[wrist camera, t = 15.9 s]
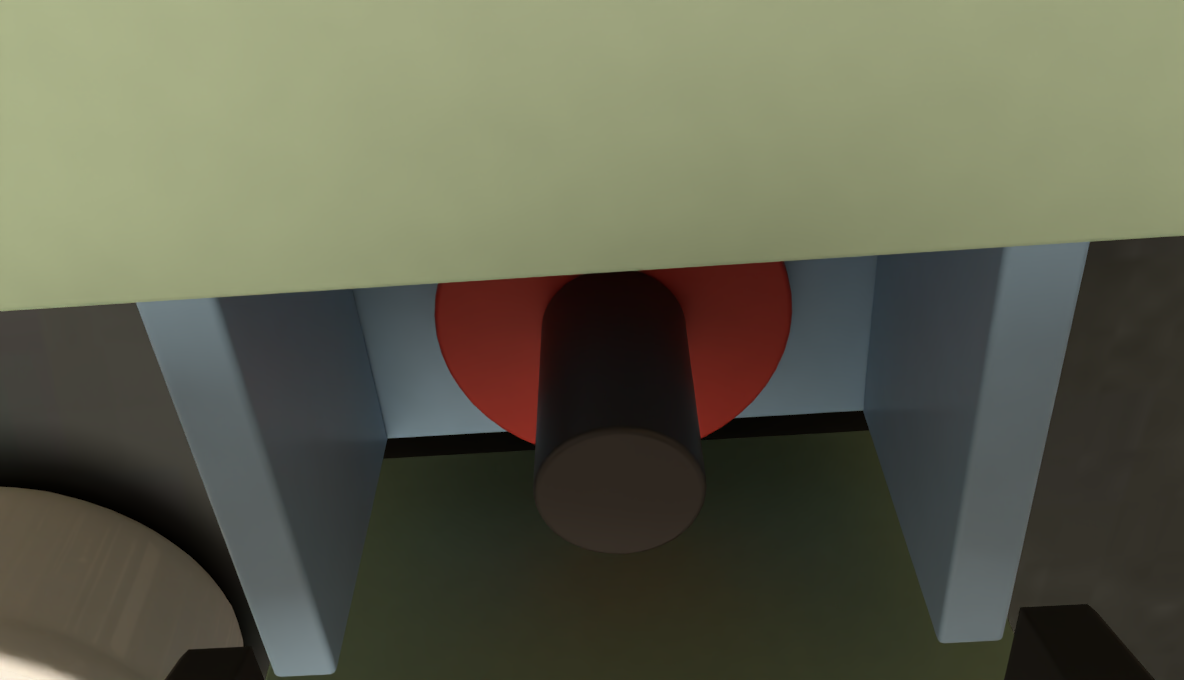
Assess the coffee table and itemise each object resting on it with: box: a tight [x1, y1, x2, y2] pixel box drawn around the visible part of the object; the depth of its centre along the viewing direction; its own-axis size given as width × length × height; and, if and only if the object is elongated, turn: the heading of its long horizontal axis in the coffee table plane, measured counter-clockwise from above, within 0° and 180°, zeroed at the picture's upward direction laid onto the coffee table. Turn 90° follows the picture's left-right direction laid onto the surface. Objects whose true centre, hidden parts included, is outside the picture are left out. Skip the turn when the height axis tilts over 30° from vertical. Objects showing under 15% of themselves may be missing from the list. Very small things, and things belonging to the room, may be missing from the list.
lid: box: [434, 261, 792, 554], centre depth 14 cm, size 5×5×4 cm
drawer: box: [136, 242, 1090, 680], centre depth 15 cm, size 17×10×6 cm, turn 4°
